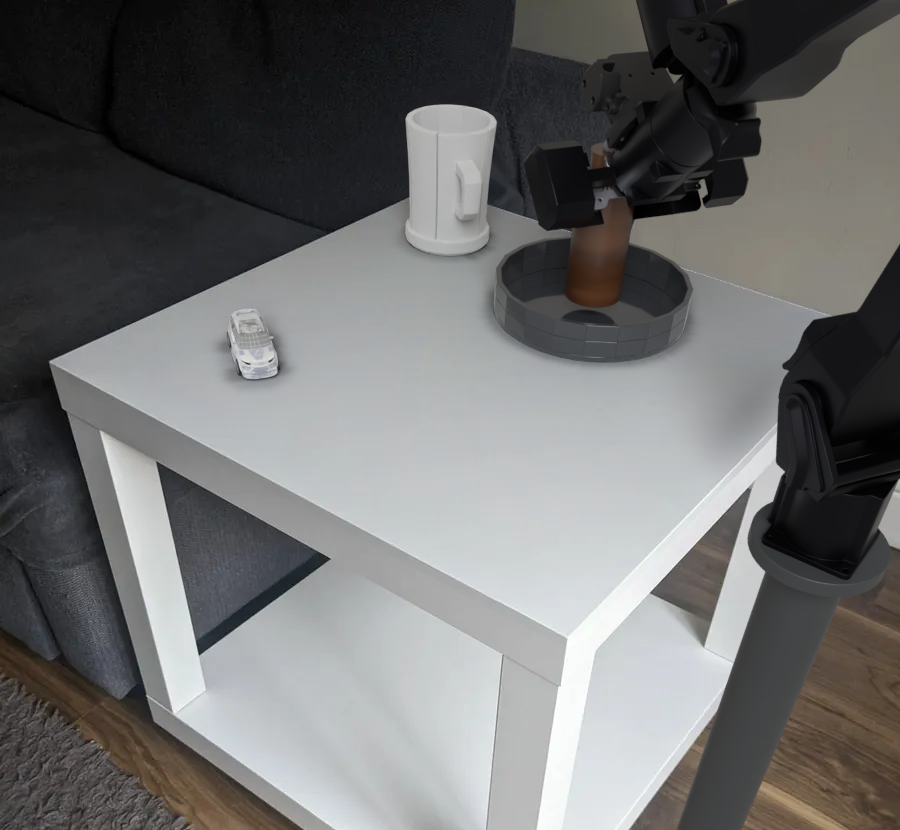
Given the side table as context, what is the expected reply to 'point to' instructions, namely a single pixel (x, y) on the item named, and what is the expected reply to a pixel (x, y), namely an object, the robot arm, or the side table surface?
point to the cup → (449, 178)
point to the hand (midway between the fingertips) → (594, 219)
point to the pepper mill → (599, 250)
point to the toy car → (252, 345)
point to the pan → (585, 328)
